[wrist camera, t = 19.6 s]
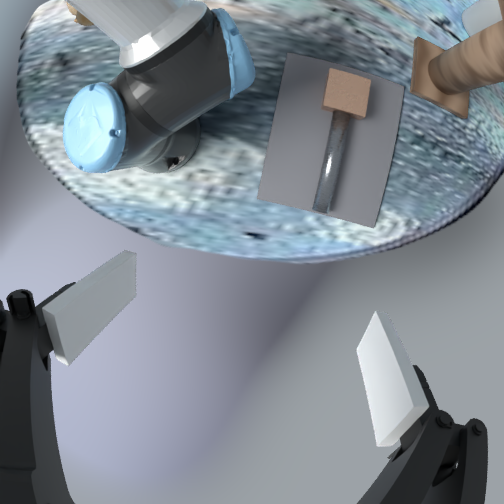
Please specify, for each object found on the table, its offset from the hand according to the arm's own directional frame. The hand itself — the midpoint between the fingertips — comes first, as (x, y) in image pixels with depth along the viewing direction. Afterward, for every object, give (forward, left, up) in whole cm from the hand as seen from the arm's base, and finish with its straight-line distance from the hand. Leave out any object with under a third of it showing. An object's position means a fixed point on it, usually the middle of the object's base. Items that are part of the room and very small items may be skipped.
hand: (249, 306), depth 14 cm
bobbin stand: (+26, +33, -37) cm, 56 cm away
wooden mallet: (+7, +12, -36) cm, 39 cm away
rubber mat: (+7, +13, -37) cm, 40 cm away
